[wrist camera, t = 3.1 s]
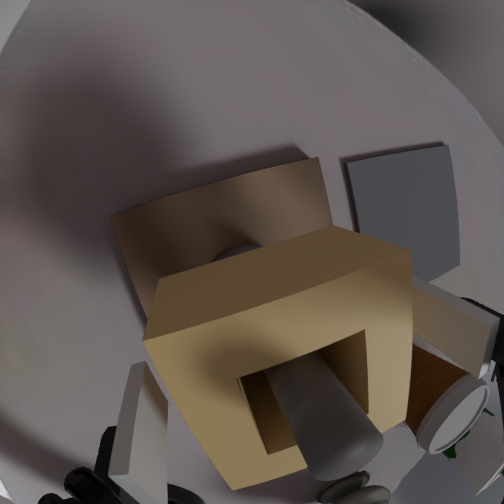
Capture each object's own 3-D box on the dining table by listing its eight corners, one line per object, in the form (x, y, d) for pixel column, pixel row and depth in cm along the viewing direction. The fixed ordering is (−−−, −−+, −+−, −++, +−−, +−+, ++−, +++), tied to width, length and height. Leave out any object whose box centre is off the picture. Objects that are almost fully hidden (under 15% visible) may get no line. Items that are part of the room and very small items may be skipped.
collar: (216, 412, 16) (232, 490, 10) (159, 278, 14) (142, 341, 8) (352, 362, 17) (405, 419, 11) (333, 225, 15) (410, 249, 9)
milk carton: (442, 419, 38) (508, 481, 18) (408, 433, 36) (477, 509, 16) (462, 379, 36) (540, 439, 17) (429, 391, 34) (515, 468, 15)
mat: (367, 308, 27) (370, 310, 27) (344, 163, 24) (347, 162, 23) (456, 263, 29) (459, 264, 29) (445, 145, 26) (448, 145, 25)
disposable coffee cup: (365, 351, 29) (434, 417, 17) (429, 318, 30) (501, 363, 19) (366, 408, 31) (417, 471, 20) (423, 376, 32) (479, 423, 21)
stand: (182, 382, 25) (198, 565, 8) (114, 213, 21) (-55, 295, 4) (342, 328, 27) (471, 449, 10) (310, 158, 23) (517, 134, 6)
